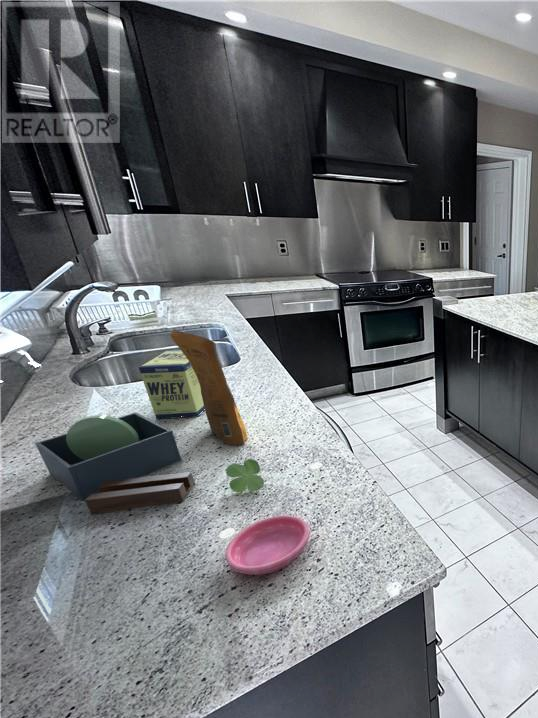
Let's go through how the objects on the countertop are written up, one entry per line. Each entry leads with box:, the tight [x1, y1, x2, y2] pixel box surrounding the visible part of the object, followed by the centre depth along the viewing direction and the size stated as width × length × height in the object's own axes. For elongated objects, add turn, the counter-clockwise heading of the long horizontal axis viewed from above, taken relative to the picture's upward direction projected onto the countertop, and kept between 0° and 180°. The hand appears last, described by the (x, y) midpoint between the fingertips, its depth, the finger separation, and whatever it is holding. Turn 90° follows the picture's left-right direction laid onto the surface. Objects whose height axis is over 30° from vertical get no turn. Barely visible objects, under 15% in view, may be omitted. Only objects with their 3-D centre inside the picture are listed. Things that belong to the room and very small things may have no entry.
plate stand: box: [84, 471, 196, 515], centre depth 81 cm, size 6×15×3 cm, turn 106°
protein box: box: [138, 348, 205, 420], centre depth 116 cm, size 10×16×16 cm
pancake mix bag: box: [169, 329, 248, 446], centre depth 100 cm, size 7×19×28 cm, turn 54°
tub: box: [34, 411, 182, 502], centre depth 90 cm, size 17×17×8 cm
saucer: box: [225, 514, 310, 576], centre depth 70 cm, size 12×12×3 cm
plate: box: [66, 414, 139, 461], centre depth 88 cm, size 1×12×12 cm, turn 107°
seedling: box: [225, 458, 265, 493], centre depth 88 cm, size 7×8×7 cm
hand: (19, 378), depth 80 cm, fingers open, 8 cm apart
